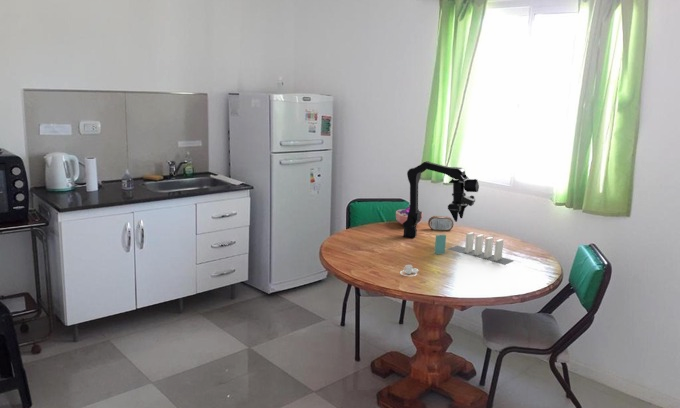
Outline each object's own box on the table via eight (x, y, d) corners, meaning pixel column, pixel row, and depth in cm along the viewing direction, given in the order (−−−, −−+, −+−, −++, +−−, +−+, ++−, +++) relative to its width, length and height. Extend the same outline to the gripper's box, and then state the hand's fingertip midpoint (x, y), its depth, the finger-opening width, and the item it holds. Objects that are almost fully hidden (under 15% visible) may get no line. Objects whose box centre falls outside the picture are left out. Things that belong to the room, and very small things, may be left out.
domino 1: (464, 252, 272) (466, 233, 270) (469, 250, 276) (471, 232, 274) (467, 253, 271) (469, 234, 269) (472, 251, 275) (474, 232, 273)
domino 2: (474, 254, 269) (475, 236, 266) (479, 252, 272) (480, 234, 270) (476, 255, 267) (478, 236, 265) (481, 253, 271) (483, 235, 269)
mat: (446, 249, 277) (447, 249, 277) (457, 246, 284) (457, 245, 284) (504, 265, 254) (504, 264, 254) (514, 261, 261) (514, 260, 261)
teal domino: (434, 253, 270) (435, 235, 267) (442, 253, 271) (444, 234, 269) (436, 254, 268) (437, 236, 266) (444, 254, 270) (446, 235, 268)
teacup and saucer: (417, 271, 244) (417, 263, 243) (420, 277, 236) (421, 268, 235) (398, 271, 243) (399, 262, 242) (401, 277, 236) (401, 268, 235)
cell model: (390, 227, 318) (391, 209, 316) (399, 220, 337) (400, 203, 334) (418, 231, 312) (419, 212, 310) (425, 223, 330) (426, 206, 328)
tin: (452, 230, 317) (453, 216, 315) (453, 231, 314) (454, 218, 312) (427, 228, 319) (428, 215, 317) (427, 230, 316) (428, 216, 314)
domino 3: (483, 257, 265) (485, 238, 263) (488, 255, 268) (490, 236, 266) (486, 258, 264) (488, 239, 262) (491, 256, 267) (493, 237, 265)
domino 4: (493, 260, 261) (495, 240, 259) (498, 258, 265) (500, 239, 262) (496, 260, 260) (498, 241, 258) (501, 258, 264) (503, 239, 261)
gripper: (468, 194, 269) (468, 224, 271) (478, 189, 285) (478, 217, 287) (447, 193, 274) (447, 223, 277) (458, 188, 290) (458, 216, 293)
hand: (458, 219), depth 283 cm, fingers open, 9 cm apart
